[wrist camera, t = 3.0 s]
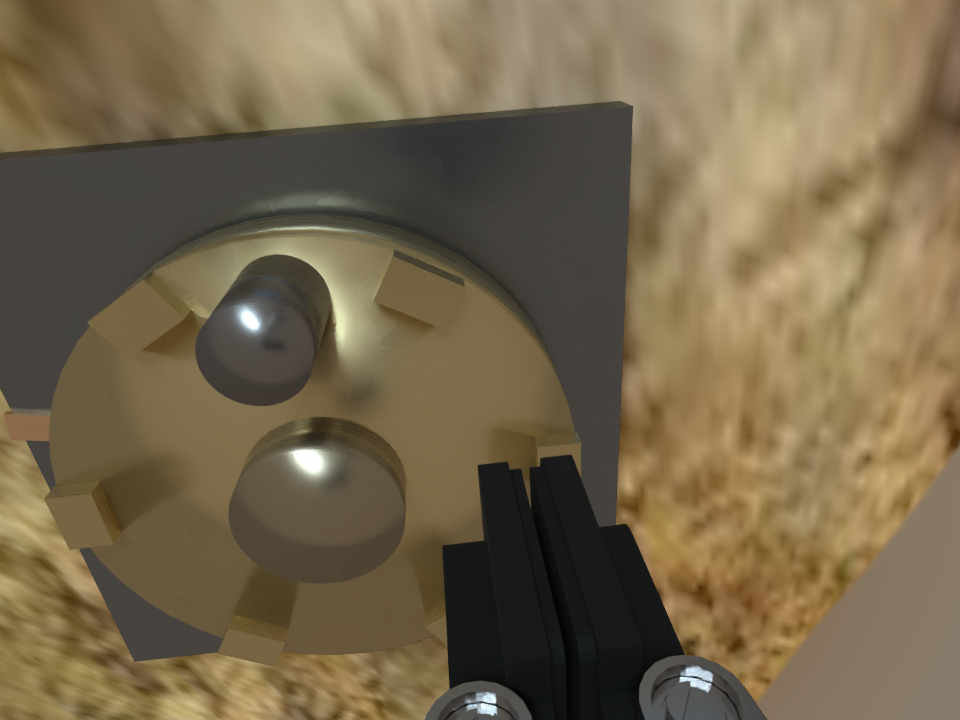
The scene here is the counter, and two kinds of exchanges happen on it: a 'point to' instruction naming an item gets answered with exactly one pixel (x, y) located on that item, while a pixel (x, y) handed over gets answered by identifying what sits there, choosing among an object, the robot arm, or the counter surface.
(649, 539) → the counter surface
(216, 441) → the notched gold disc
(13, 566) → the counter surface
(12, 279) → the cap plate
